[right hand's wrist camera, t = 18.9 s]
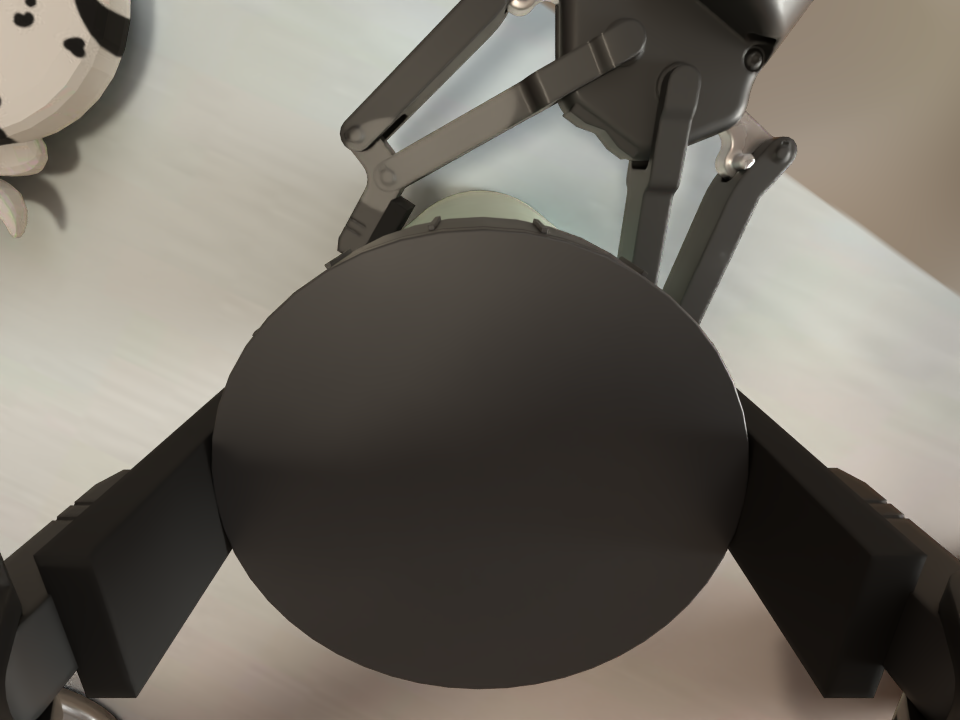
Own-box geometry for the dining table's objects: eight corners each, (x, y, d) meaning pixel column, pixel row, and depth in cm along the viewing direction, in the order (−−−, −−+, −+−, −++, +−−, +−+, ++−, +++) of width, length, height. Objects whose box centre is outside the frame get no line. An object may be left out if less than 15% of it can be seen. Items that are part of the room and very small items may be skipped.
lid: (679, 150, 10) (730, 147, 8) (726, 572, 14) (770, 644, 12) (176, 285, 11) (106, 313, 9) (346, 646, 15) (324, 725, 13)
